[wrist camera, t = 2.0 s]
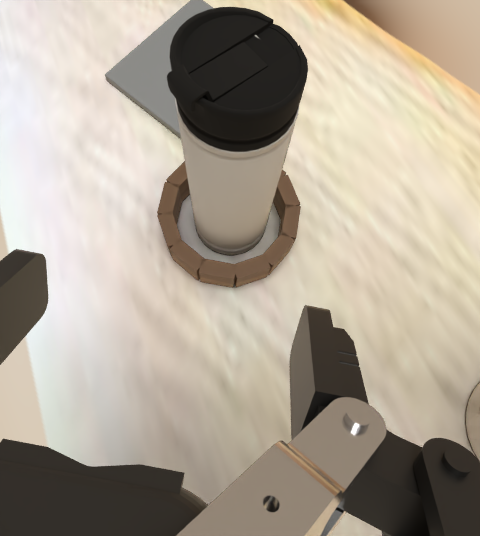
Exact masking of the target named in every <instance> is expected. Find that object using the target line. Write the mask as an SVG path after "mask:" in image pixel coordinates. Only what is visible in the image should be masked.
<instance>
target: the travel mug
mask: <svg viewBox="0 0 480 536" xmlns="http://www.w3.org/2000/svg"><path fill="white" fill-rule="evenodd" d="M169 58H170V64H171V70H172V71H170V72H169V73H168V74H167V82H168V87H169V89H170V92H171V93H172V94H173V95H174V97H175V103H176V109H177V116H178V122H179V128H180V134H181V140H182V146H183V153H184V159H185V165H186V171H187V177H188V184H189V190H190V196H191V202H192V208H193V214H194V221H195V226H196V231H197V233H198V236H199V238H200V239H201V240H202V242H203V243H204V244H205V245H206V246H207V247H208V248H210V249H212V250H213V251H215V252H218V253H221V254H226V255H236V254H241V253H244V252H246V251H248V250H250V249H251V248H253V247H254V246H255V245H256V244H257V243H258V242H259V241H260V239H261V238H262V236H263V234H264V231H265V228H266V224H267V221H268V217H269V214H270V210H271V207H272V203H273V200H274V196H275V193H276V189H277V186H278V182H279V179H280V175H281V172H282V168H283V165H284V161H285V158H286V154H287V151H288V147H289V144H290V140H291V136H292V133H293V129H294V126H295V121H296V119H297V115H298V110H299V103H300V100H301V97H302V93H303V90H304V86H305V83H306V78H307V72H308V65H307V59H306V57H305V55H304V53H303V51H302V49H301V47H300V45H299V46H298V44H297V42H296V41H295V40H294V39H293V38H292V36H291V35H290V34H289V33H288V32H286V31H285V30H284V29H283V28H281V27H280V26H278V25H275V24H273V19H271V18H269V17H267V16H265V15H263V14H262V13H260V12H258V11H254V10H250V9H246V8H238V7H219V8H214V9H209V10H206V11H203V12H201V13H198V14H196V15H194V16H193V17H191V18H189V19H188V20H187V21H186V22H184V23H183V24H182V25H181V26H180V27H179V29H178V30H177V32H176V33H175V35H174V36H173V39H172V42H171V45H170V57H169Z"/></svg>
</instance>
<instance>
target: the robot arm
mask: <svg viewBox="0 0 480 536" xmlns="http://www.w3.org/2000/svg"><path fill="white" fill-rule="evenodd" d="M47 304H48V285H47V270H46V259H45V257H44V255H43V254H39V253H34V252H29V251H24V250H18V249H16V250H14V251H12V252H11V253H10V254H9V255H7V256H6V257H5V258H3V260H1V261H0V365H1V363H2V362H3V361H4V360H5V359H6V358H7V357H8V355H9V354H10V353H11V352H12V351H13V350H14V348H15V347H16V346H17V345H18V344H19V343H20V341H21V340H22V339H23V338H24V337H25V336H26V335H27V333H28V332H29V331H30V330H31V329H32V328H33V327H34V325H35V324H36V323H37V322H38V321H39V320H40V318H41V317H42V316H43V314H44V312H45V310H46V307H47ZM290 399H291V436H292V441H291V442H290V443H288V444H286V443H284V442H283V441H279V442H277V443H276V444H274V445H273V446H272V447H271V448H270V449H269V450H268V451H267V452H266V453H264V454H263V455H262V456H261V457H260V458H259V459H258V460H257V461H256V462H255V463H254V464H253V465H252V466H250V467H249V468H248V469H247V470H246V471H245V472H244V473H243V474H242V475H241V476H240V477H239V478H238V479H236V480H235V481H234V482H233V483H232V484H231V485H230V486H229V487H228V488H227V489H226V490H225V491H224V492H222V493H221V494H220V495H219V496H218V497H217V498H216V499H215V500H214V501H213V502H212V503H211V504H210V505H209V506H208V505H207V504H206V503H205V502H204V501H203V500H201V499H200V498H199V497H197V496H196V495H194V494H193V493H191V492H190V491H188V490H186V489H184V488H182V484H183V478H184V473H182V472H177V471H172V470H166V469H161V468H156V467H150V466H145V465H120V466H100V467H90V466H86V465H83V464H81V463H79V462H77V461H75V460H73V459H71V458H69V457H67V456H65V455H63V454H61V453H59V452H57V451H55V450H53V449H50V448H48V447H44V446H39V445H34V444H28V443H23V442H18V441H12V440H7V439H3V440H2V441H1V442H0V536H330V534H331V533H332V531H333V530H334V529H335V527H336V526H337V524H338V523H339V522H340V520H341V519H342V517H343V516H344V515H345V513H346V512H348V513H349V514H351V515H353V516H355V517H357V518H359V519H361V520H363V521H365V522H366V523H368V524H370V525H372V526H374V527H376V528H378V529H380V530H382V536H480V383H479V384H478V385H477V386H476V388H475V389H474V391H473V393H472V395H471V397H470V399H469V402H468V406H467V411H466V427H467V433H468V438H469V441H470V443H471V446H472V449H473V451H474V453H475V454H476V456H477V458H478V459H479V460H478V459H477V458H476V457H475V456H474V455H473V454H472V453H471V452H470V451H469V450H467V449H466V448H465V447H463V446H461V445H460V444H458V443H456V442H453V441H451V440H448V439H443V438H434V439H430V440H428V441H427V442H426V443H425V444H424V446H423V448H422V447H420V446H418V445H415V444H413V443H411V442H409V441H407V440H404V439H402V438H400V437H398V436H396V435H394V434H393V433H391V432H389V431H388V430H387V429H386V425H385V422H384V420H383V418H382V417H381V415H380V414H379V413H378V412H377V411H376V410H375V409H374V408H373V407H371V406H370V405H369V404H368V400H367V396H366V391H365V387H364V383H363V379H362V375H361V371H360V367H359V362H358V358H357V357H356V350H355V346H354V342H353V340H352V339H351V338H350V336H349V335H348V334H347V332H346V331H345V330H344V329H340V328H335V327H333V324H332V319H331V313H330V310H328V309H322V308H317V307H312V306H307V305H305V306H304V308H303V311H302V314H301V318H300V321H299V324H298V328H297V331H296V334H295V338H294V341H293V345H292V349H291V354H290Z"/></svg>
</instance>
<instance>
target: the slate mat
mask: <svg viewBox="0 0 480 536" xmlns="http://www.w3.org/2000/svg"><path fill="white" fill-rule="evenodd" d="M209 9H214V8H213V7H211V6H210V5H208V4H207V3H206V2H204V1H203V0H190V1H189V2H188V3H187V4H186V5H185V6H183V7H182V8H181V9H180V10H179V11H178V12H177V13H175V14H174V15H173V16H172V17H171V18H170V19H168V20H167V21H166V22H165V23H164V24H163V25H162V26H160V27H159V28H158V29H157V30H156V31H155V32H153V33H152V34H151V35H150V36H149V37H148V38H147V39H145V40H144V41H143V42H142V43H141V44H140V45H138V46H137V47H136V48H135V49H134V50H133V51H132V52H130V53H129V54H128V55H127V56H126V57H125V58H123V59H122V60H121V61H120V62H119V63H118V64H117V65H115V66H114V67H113V68H112V69H111V70H110V71H108V72H107V73H106V74H105V77H106V79H107V81H108V82H109V83H111V84H112V85H113V86H114V87H116V88H117V89H118V90H120V91H121V92H122V93H123V94H125V95H126V96H127V97H128V98H130V99H131V100H132V101H134V102H135V103H136V104H137V105H139V106H140V107H141V108H142V109H144V110H145V111H146V112H148V113H149V114H150V115H151V116H153V117H154V118H155V119H157V120H158V121H159V122H160V123H162V124H163V125H164V126H165V127H167V128H168V129H169V130H171V131H172V132H173V133H174V134H176V135H177V136H178V137H179V138H181V134H180V128H179V122H178V116H177V109H176V103H175V97H174V95H173V94H172V93H171V92H170V89H169V87H168V82H167V74H168V73H169V72H170V71H172V70H171V64H170V58H169V57H170V45H171V42H172V39H173V36H174V35H175V33H176V32H177V30H178V29H179V27H180V26H181V25H182V24H183V23H184V22H186V21H187V20H188V19H189V18H191V17H193V16H194V15H196V14H198V13H201V12H203V11H206V10H209Z"/></svg>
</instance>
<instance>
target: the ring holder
mask: <svg viewBox="0 0 480 536" xmlns="http://www.w3.org/2000/svg"><path fill="white" fill-rule="evenodd" d="M285 174H286V172H285V171H283V170H282V172H281V175H280V179H279V182H278V186H277V189H276V193H275V196H274V200H273V202H274V204H275V207H276V209H277V212H278V214H279V216H280V219H281V223H280V229H279V235H278V238H277V239H276V240H275V241H274V242H273V244H272V245H271V246H270V247H269V248H268V249H267V251H266V252H265V253H264V254H263V255H260V256H257V257H254V258H251V259H248V260H245V261H242V262H240V263H237V264H231V263H225V262H220V261H214V260H209V259H204V258H203V257H202V256H200V255H199V254H198V253H197V252H196V251H194V250H193V249H192V248H191V247H190V246H188V245H187V244H186V243H185V242H184V241H182V240H181V237H180V234H179V231H178V228H177V221H178V217H179V213H180V208H181V204H182V201H183V200H184V199H185V198H186V197H187V196H188V195H189V194H190V190H189V184H188V177H187V171H186V165H185V161H184V162H183V163H182V164H181V165H180V166H179V167H178V168H177V169H176V170H175V171H174V172H173V173H172V174H171V175H170V176H169V177H168V178H167V179H166V180H167V182H165V184H164V188H163V192H162V196H161V200H160V204H159V208H158V212H157V213H158V219H159V222H160V225H161V228H162V231H163V234H164V237H165V240H166V243H167V246H168V249H169V251H170V254H171V256H172V258H173V260H174V261H175V262H177V263H178V264H179V265H180V266H181V267H182V268H184V269H185V270H186V271H187V272H188V273H190V274H191V275H192V276H193V277H194V278H196V279H197V280H199V279H200V281H201V282H204V283H210V284H215V285H221V286H226V287H232V288H233V286H234V284H235V286H236V287H239V286H242V285H245V284H248V283H251V282H253V281H256V280H259V279H262V278H265V277H267V275H270V274H271V272H272V271H273V270H274V269H275V268H276V267H277V265H278V264H279V263H280V262H281V261H282V259H283V258H284V257H285V256H286V255H287V254H288V252H289V251H290V249H291V247H292V245H293V243H294V241H295V239H296V234H297V228H298V221H299V214H300V207H301V206H299V205H300V202H299V200H298V197H297V195H296V193H295V190H294V188H293V186H292V183H291V181H290V179H289V177H288V175H286V176H285Z"/></svg>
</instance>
